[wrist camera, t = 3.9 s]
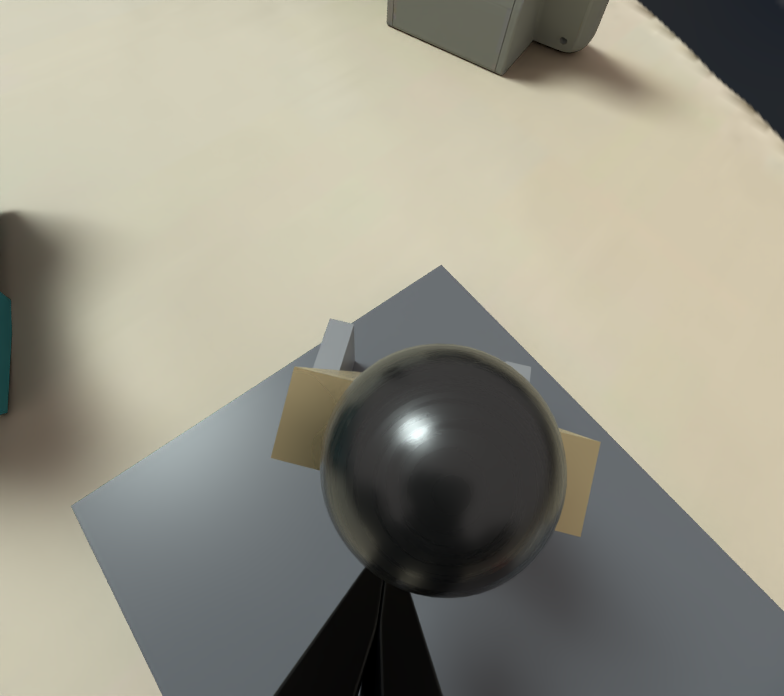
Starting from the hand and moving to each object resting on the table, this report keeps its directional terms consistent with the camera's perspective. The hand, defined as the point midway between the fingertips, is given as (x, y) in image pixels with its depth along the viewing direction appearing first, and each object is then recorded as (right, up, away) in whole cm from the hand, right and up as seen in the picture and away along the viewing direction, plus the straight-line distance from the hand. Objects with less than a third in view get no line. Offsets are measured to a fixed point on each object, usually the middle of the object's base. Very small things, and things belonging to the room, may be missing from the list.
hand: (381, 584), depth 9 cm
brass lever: (+1, +3, +7) cm, 8 cm away
